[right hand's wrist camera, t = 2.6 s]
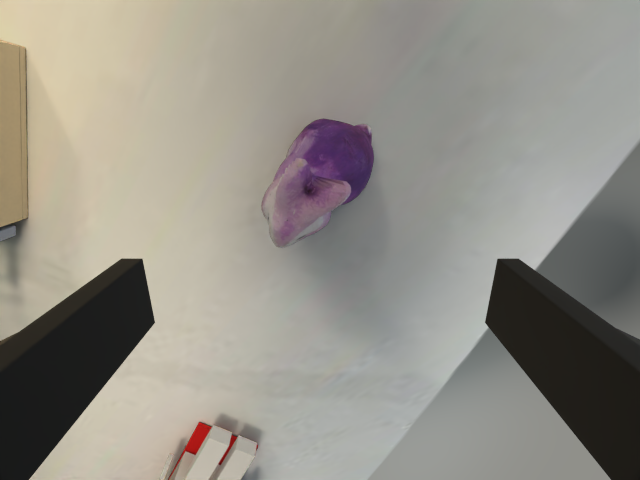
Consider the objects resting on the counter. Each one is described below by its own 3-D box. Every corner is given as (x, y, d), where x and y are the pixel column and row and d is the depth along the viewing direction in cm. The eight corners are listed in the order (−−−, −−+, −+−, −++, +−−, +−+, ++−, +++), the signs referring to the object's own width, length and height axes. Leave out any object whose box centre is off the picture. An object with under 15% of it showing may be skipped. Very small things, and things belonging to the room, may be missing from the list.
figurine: (275, 214, 37) (248, 272, 23) (278, 115, 34) (248, 113, 20) (360, 219, 37) (385, 281, 23) (372, 122, 34) (409, 125, 20)
